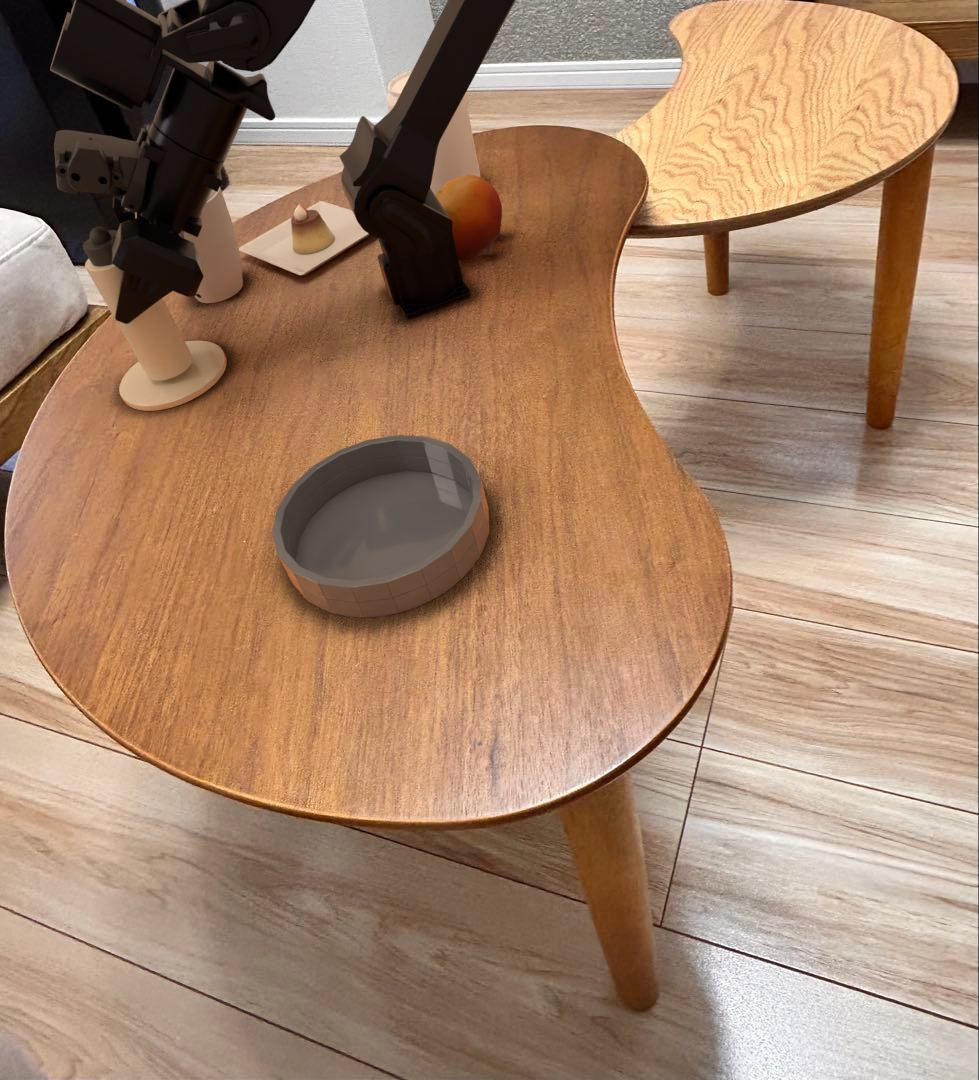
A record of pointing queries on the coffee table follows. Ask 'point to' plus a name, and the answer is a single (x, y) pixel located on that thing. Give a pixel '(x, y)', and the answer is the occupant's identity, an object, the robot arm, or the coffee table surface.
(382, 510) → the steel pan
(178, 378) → the tile coaster
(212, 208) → the cup
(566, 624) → the coffee table surface
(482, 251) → the fruit
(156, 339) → the pepper mill
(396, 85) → the beverage can
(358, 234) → the dessert
